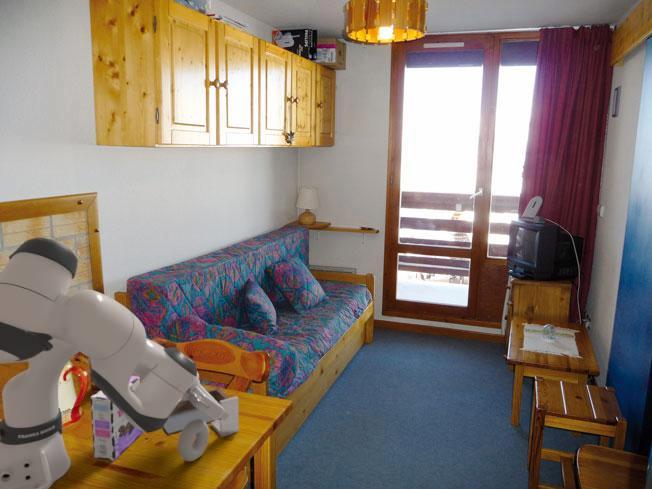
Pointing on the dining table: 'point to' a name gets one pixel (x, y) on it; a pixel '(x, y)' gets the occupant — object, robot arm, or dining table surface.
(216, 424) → the aluminium bracket
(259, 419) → the dining table surface
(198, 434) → the donut
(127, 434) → the candy box
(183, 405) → the walnut walls
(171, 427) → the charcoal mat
